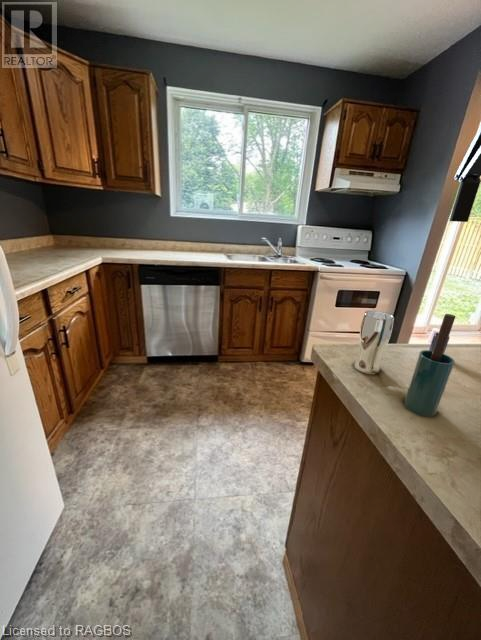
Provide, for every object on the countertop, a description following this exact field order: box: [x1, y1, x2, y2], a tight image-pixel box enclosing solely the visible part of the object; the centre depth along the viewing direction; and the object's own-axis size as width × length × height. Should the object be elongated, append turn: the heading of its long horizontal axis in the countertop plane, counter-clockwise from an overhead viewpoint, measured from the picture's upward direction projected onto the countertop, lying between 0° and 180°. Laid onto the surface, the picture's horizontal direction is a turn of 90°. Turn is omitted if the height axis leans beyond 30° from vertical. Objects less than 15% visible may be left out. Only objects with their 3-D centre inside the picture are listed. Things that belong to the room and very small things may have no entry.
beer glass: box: [354, 310, 395, 375], centre depth 69 cm, size 7×7×15 cm
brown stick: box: [430, 313, 456, 362], centre depth 53 cm, size 2×2×20 cm
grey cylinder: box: [428, 332, 451, 354], centre depth 78 cm, size 4×4×7 cm
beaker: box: [404, 349, 456, 417], centre depth 55 cm, size 6×6×12 cm
